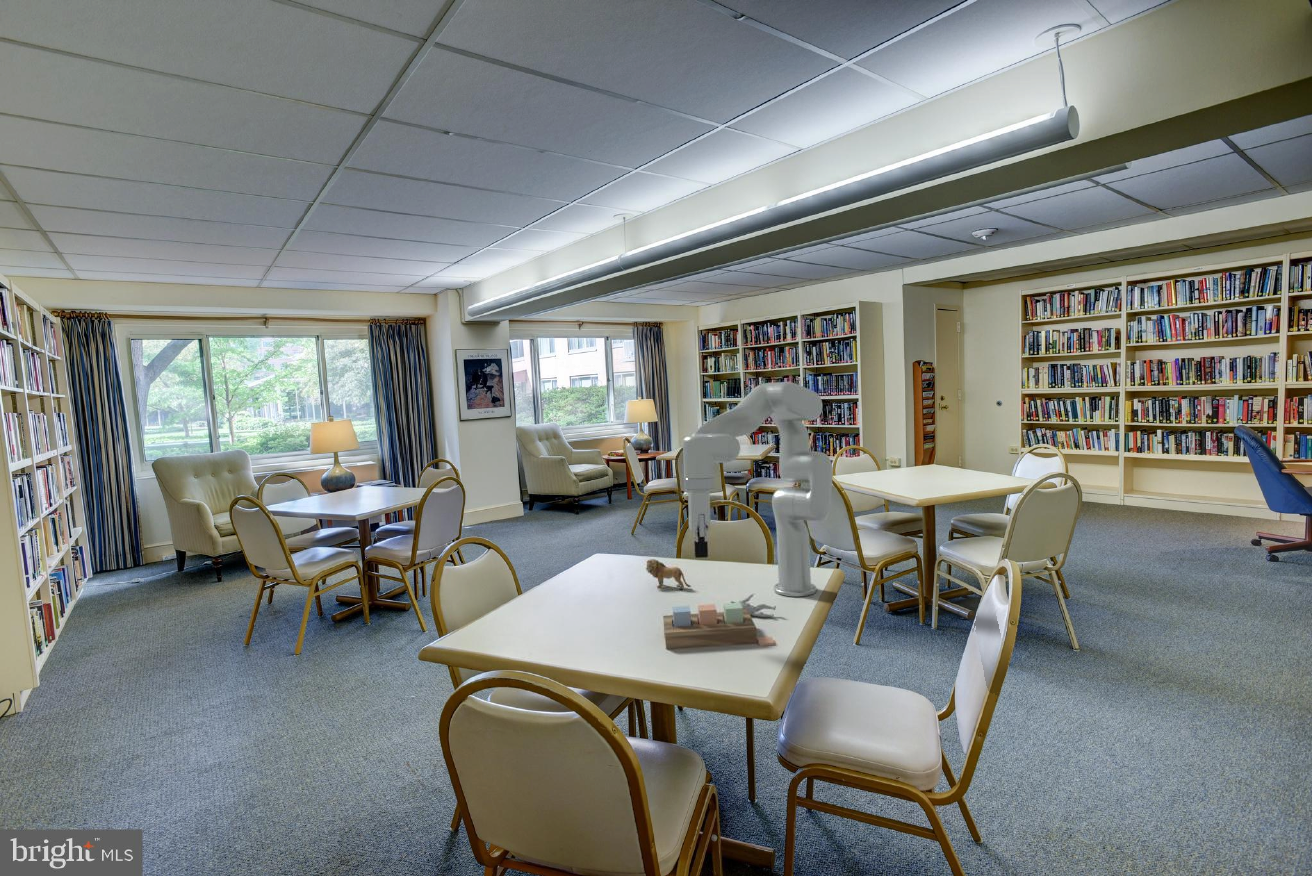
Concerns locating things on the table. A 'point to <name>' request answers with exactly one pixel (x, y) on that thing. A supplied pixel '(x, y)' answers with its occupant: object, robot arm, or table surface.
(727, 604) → the mint green block
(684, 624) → the light blue block
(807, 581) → the robot arm
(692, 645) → the board
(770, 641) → the tile
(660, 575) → the lion figurine
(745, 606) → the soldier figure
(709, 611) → the salmon pink rectangular block
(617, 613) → the table surface
